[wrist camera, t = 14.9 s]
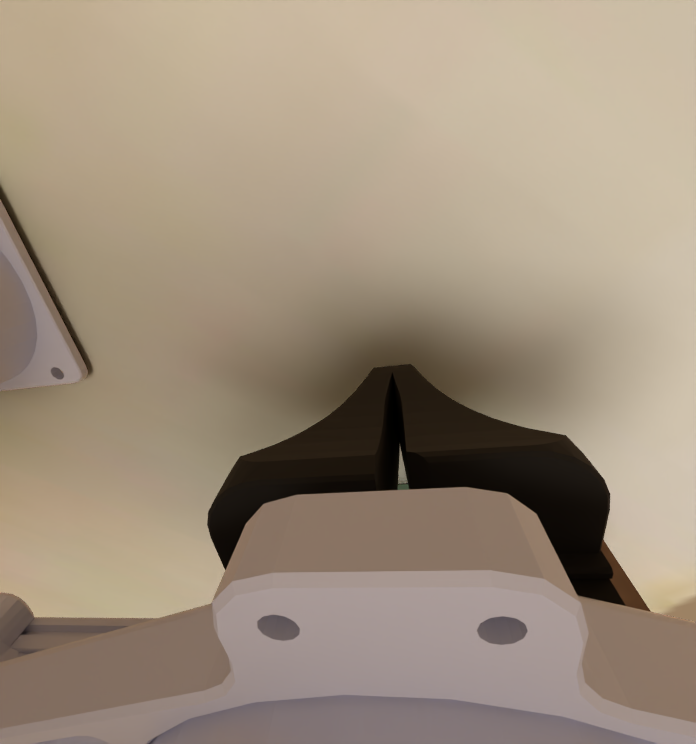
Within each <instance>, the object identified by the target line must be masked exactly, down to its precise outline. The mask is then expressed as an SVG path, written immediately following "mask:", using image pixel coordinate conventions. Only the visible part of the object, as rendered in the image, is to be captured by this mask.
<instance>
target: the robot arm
mask: <svg viewBox="0 0 696 744" xmlns="http://www.w3.org/2000/svg"><path fill="white" fill-rule="evenodd" d="M61 371H62V372H63V373H62V372H61ZM87 375H88V370H87V367H86V365H85V363H84V361H83V359H82V357H81V355H80V353H79V351H78V349H77V347H76V345H75V344H74V342H73V340H72V338H71V336H70V334H69V332H68V330H67V328H66V326H65V324H64V322H63V320H62V318H61V316H60V314H59V312H58V310H57V309H56V307H55V305H54V303H53V301H52V299H51V297H50V295H49V293H48V291H47V289H46V287H45V285H44V283H43V281H42V279H41V277H40V275H39V273H38V272H37V270H36V268H35V266H34V264H33V262H32V260H31V258H30V256H29V254H28V252H27V250H26V248H25V246H24V244H23V242H22V240H21V238H20V236H19V235H18V233H17V231H16V229H15V227H14V225H13V223H12V221H11V219H10V217H9V215H8V213H7V211H6V209H5V207H4V205H3V203H2V201H1V199H0V391H7V390H16V389H25V388H34V387H43V386H52V385H61V384H70V383H77V382H79V381H81V380H83V379H85V378H86V377H87ZM400 446H401V451H402V456H403V461H404V466H405V471H406V476H407V481H408V486H409V490H398V470H399V448H400ZM609 510H610V493H609V490H608V488H607V485H606V483H605V480H604V479H603V477H602V476H601V475H600V474H599V473H598V471H597V470H596V469H595V468H594V466H593V465H592V464H591V462H590V461H589V460H588V459H587V458H586V456H585V455H584V454H583V453H582V452H581V451H580V450H579V449H578V448H577V447H576V446H575V445H574V443H573V442H572V441H571V440H570V439H569V438H568V437H567V436H566V435H561V434H555V433H550V432H545V431H539V430H534V429H528V428H524V427H520V426H517V425H513V424H509V423H506V422H503V421H500V420H496V419H493V418H491V417H488V416H486V415H483V414H481V413H478V412H476V411H473V410H471V409H469V408H467V407H465V406H463V405H461V404H459V403H458V402H456V401H454V400H452V399H451V398H449V397H447V396H446V395H445V394H443V393H442V392H440V391H439V390H438V389H436V388H435V387H434V386H433V385H432V384H431V383H429V382H428V381H427V380H426V379H425V378H424V377H423V376H422V375H421V374H420V373H419V372H418V371H417V370H416V369H415V367H414V366H412V365H411V364H408V365H398V366H387V367H377V368H374V369H373V370H372V371H371V372H370V373H369V375H368V376H367V377H366V379H365V380H364V381H363V383H362V384H361V385H360V386H359V387H358V389H357V390H356V391H355V392H354V393H353V394H352V395H351V396H350V397H349V398H348V399H347V400H346V401H345V402H344V403H343V404H342V405H341V406H340V407H339V408H337V409H336V410H335V411H334V412H332V413H331V414H330V415H328V416H327V417H326V418H324V419H323V420H321V421H320V422H318V423H316V424H315V425H313V426H311V427H310V428H308V429H306V430H305V431H303V432H301V433H299V434H297V435H295V436H293V437H291V438H289V439H287V440H284V441H282V442H280V443H277V444H275V445H273V446H270V447H267V448H264V449H261V450H258V451H256V452H253V453H250V454H247V455H244V456H240V458H239V459H238V461H237V462H236V464H235V465H234V467H233V468H232V470H231V472H230V473H229V475H228V477H227V479H226V480H225V482H224V484H223V486H222V488H221V489H220V491H219V493H218V495H217V496H216V498H215V500H214V502H213V504H212V506H211V508H210V510H209V512H208V523H207V525H208V529H209V532H210V536H211V539H212V541H213V543H214V546H215V548H216V550H217V552H218V555H219V557H220V559H221V561H222V564H223V566H224V568H225V573H224V575H223V577H222V580H221V582H220V584H219V587H218V589H217V591H216V593H215V596H214V598H213V600H212V603H211V604H208V605H204V606H201V607H197V608H193V609H190V610H186V611H183V612H179V613H175V614H172V615H168V616H165V617H161V618H56V617H34V615H33V612H32V611H31V609H30V608H29V606H28V605H27V604H26V603H25V602H24V601H23V600H22V599H20V598H19V597H17V596H15V595H13V594H9V593H0V744H696V622H695V621H690V620H686V619H681V618H677V617H672V616H668V615H663V614H659V613H654V612H650V611H645V610H641V609H636V608H632V607H627V606H626V605H625V603H624V602H623V600H622V598H621V597H620V595H619V593H618V592H617V590H616V589H615V587H614V585H613V584H612V582H611V580H610V579H612V578H613V574H614V573H613V570H612V567H611V565H610V563H609V562H608V560H607V559H606V557H605V556H604V554H603V552H602V551H601V547H602V542H603V538H604V533H605V529H606V524H607V519H608V515H609Z"/></svg>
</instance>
